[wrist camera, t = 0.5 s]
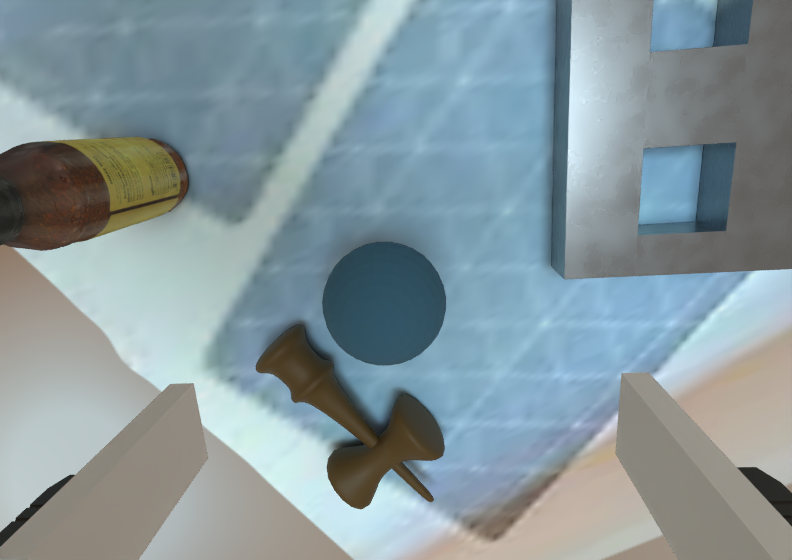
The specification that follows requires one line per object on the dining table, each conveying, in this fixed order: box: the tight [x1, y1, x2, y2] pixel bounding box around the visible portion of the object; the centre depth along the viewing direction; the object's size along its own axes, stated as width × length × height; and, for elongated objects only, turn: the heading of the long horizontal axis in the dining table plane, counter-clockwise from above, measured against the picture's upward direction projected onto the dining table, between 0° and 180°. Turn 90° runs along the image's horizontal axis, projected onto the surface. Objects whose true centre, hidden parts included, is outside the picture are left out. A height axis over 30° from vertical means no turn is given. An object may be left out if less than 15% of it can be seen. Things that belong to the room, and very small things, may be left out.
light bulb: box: [322, 242, 446, 365], centre depth 35 cm, size 8×8×12 cm
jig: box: [551, 0, 792, 279], centre depth 34 cm, size 24×16×4 cm, turn 4°
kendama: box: [256, 326, 445, 509], centre depth 42 cm, size 6×10×20 cm
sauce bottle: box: [0, 137, 188, 251], centre depth 30 cm, size 6×6×20 cm
